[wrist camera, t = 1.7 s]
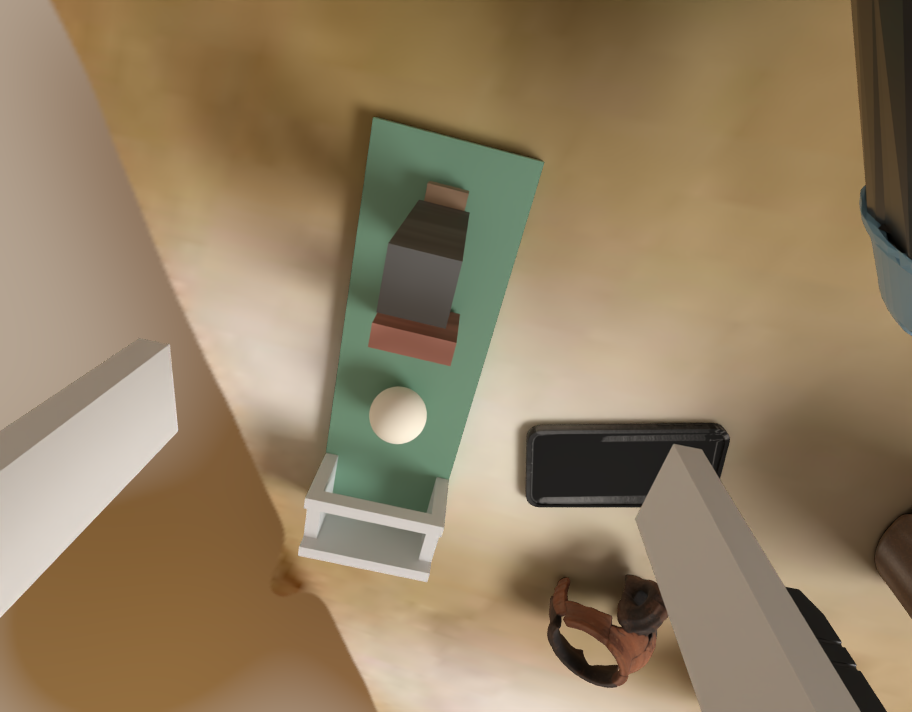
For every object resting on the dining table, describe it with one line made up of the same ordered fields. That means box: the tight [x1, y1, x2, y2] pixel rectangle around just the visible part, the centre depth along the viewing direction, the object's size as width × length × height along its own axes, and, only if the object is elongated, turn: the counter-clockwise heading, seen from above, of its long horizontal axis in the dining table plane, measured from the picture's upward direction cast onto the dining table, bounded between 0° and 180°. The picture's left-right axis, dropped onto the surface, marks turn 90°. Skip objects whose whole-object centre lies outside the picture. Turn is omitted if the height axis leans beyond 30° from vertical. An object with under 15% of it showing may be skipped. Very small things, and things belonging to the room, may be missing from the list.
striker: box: [368, 181, 470, 366], centre depth 26 cm, size 9×5×11 cm, turn 167°
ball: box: [369, 386, 427, 444], centre depth 34 cm, size 4×4×4 cm
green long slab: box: [298, 117, 544, 582], centre depth 33 cm, size 31×10×6 cm, turn 167°
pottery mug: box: [547, 575, 668, 688], centre depth 43 cm, size 12×10×8 cm
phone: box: [526, 423, 730, 507], centre depth 38 cm, size 8×1×15 cm
